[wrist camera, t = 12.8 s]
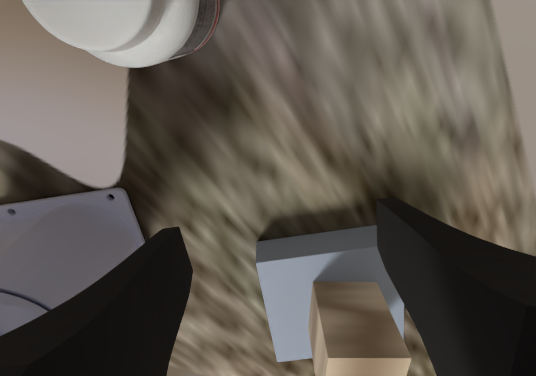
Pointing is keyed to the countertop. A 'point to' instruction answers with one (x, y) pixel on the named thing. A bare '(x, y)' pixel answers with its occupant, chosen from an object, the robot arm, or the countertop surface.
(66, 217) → the robot arm
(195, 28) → the pill bottle
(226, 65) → the countertop surface
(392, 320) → the maple cube
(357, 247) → the slate-blue block
